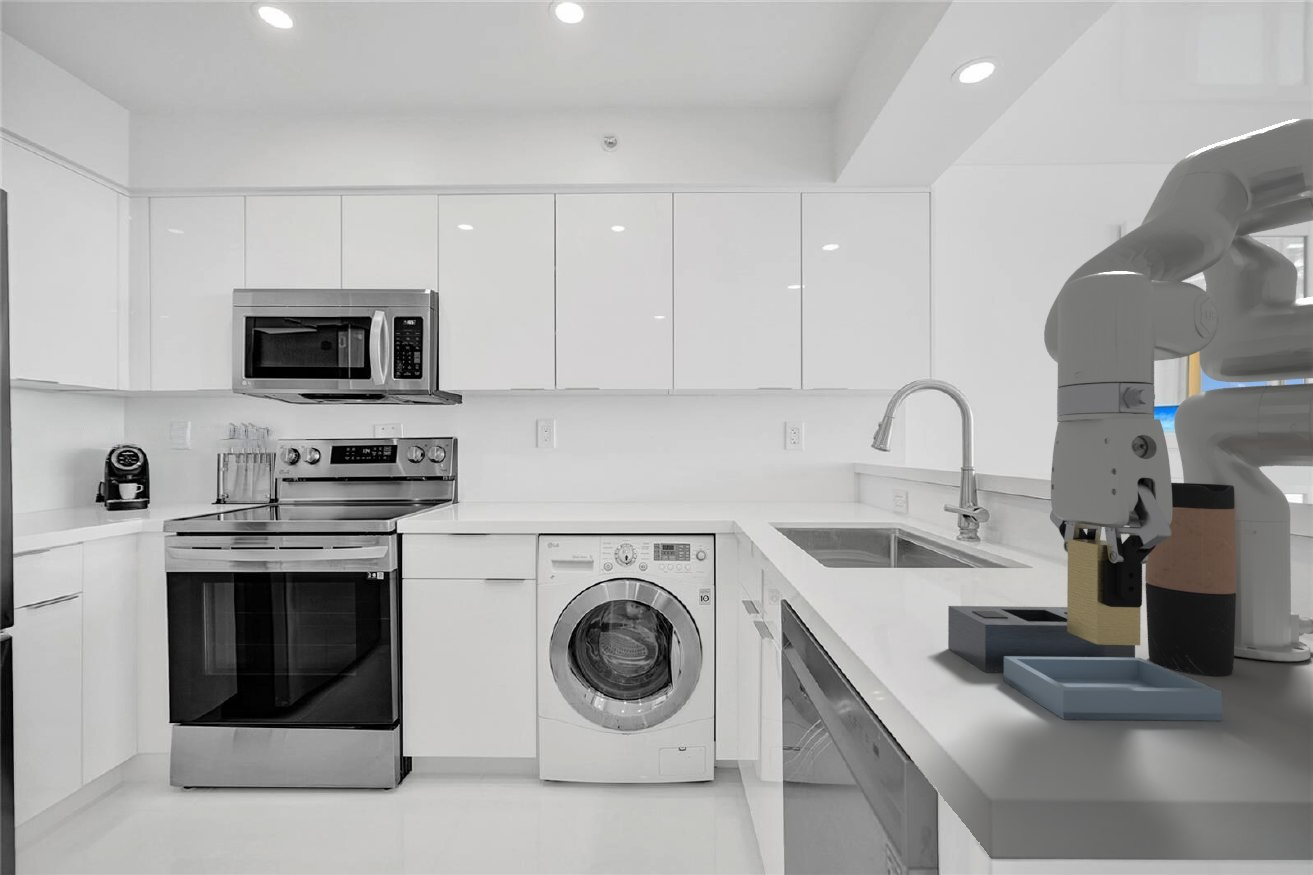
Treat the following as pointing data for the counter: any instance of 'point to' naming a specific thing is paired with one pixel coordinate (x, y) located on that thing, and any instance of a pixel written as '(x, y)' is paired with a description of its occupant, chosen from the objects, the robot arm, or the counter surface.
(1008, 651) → the grey slotted block
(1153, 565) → the travel mug
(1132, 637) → the brushed brass bar
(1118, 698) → the parts tray
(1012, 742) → the counter surface
